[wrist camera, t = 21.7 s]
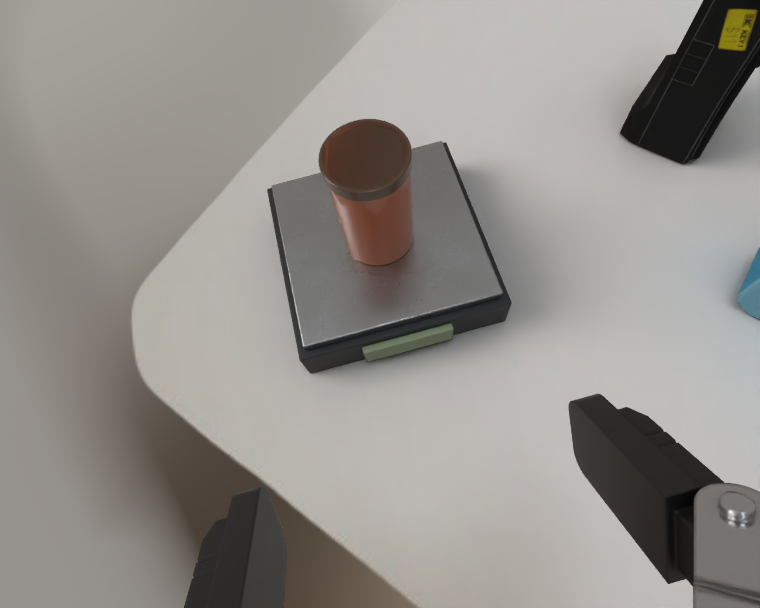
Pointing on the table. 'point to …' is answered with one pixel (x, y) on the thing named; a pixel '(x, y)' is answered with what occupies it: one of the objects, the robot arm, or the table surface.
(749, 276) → the data package
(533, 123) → the table surface
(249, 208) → the table surface
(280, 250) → the scale
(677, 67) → the portable radio
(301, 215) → the scale pan
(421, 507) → the table surface
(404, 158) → the spice tin
